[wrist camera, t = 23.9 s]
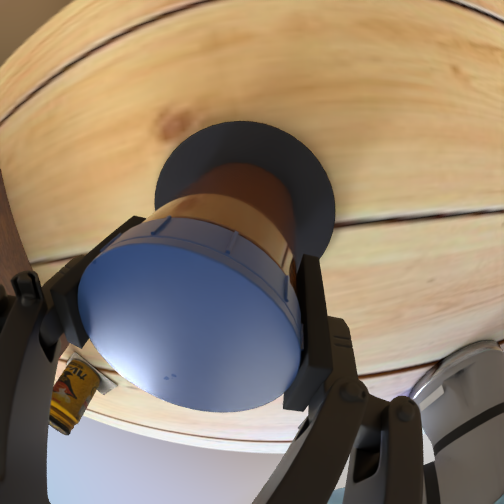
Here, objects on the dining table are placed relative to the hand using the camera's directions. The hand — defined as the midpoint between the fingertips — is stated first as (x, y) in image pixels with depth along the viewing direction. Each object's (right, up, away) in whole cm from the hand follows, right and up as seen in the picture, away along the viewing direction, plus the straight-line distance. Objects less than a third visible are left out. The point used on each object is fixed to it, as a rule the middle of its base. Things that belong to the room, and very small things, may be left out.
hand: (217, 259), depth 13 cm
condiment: (-24, -19, +22) cm, 38 cm away
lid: (-1, -3, -5) cm, 6 cm away
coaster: (+1, +3, +6) cm, 7 cm away
